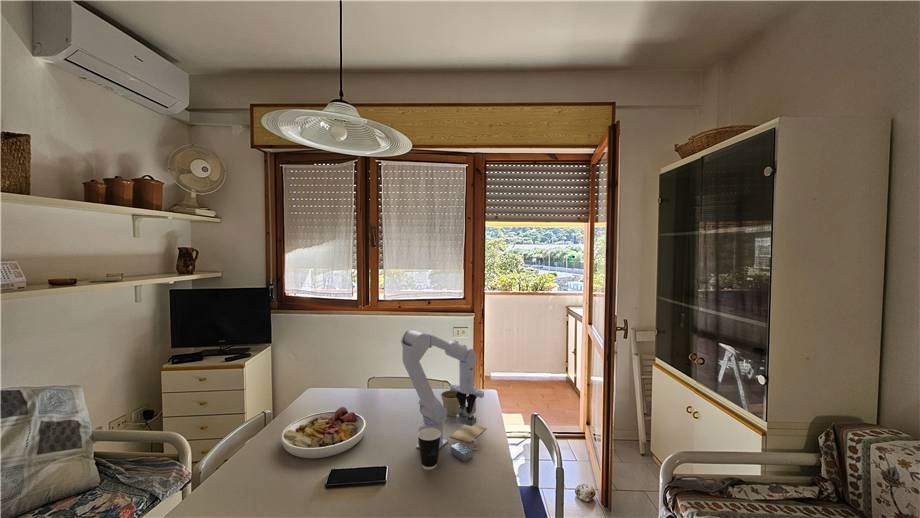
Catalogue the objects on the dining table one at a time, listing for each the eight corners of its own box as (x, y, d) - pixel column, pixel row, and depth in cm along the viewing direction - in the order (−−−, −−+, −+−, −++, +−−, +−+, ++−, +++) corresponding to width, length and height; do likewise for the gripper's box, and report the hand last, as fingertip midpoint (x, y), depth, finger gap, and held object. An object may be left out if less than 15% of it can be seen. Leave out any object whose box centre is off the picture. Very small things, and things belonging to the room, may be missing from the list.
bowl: (340, 468, 127) (340, 444, 127) (262, 457, 133) (262, 435, 133) (378, 426, 156) (378, 407, 156) (312, 419, 163) (312, 401, 162)
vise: (470, 444, 142) (470, 434, 141) (483, 452, 136) (483, 442, 136) (450, 452, 136) (450, 443, 136) (463, 461, 130) (463, 451, 130)
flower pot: (453, 420, 161) (453, 400, 160) (436, 414, 166) (436, 395, 166) (466, 412, 168) (466, 393, 168) (449, 407, 174) (449, 388, 174)
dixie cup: (424, 456, 133) (424, 425, 133) (445, 462, 130) (445, 430, 130) (413, 469, 126) (413, 436, 125) (434, 474, 123) (434, 441, 122)
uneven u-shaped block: (470, 410, 157) (470, 398, 157) (485, 414, 153) (485, 402, 153) (456, 422, 147) (456, 409, 147) (471, 426, 144) (471, 413, 144)
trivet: (470, 443, 142) (470, 442, 142) (449, 437, 147) (449, 436, 147) (486, 429, 153) (486, 428, 153) (466, 423, 158) (466, 422, 158)
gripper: (487, 378, 151) (487, 411, 151) (456, 371, 158) (456, 404, 159) (479, 383, 145) (479, 418, 145) (447, 376, 152) (447, 410, 153)
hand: (466, 411), depth 152 cm, fingers closed on uneven u-shaped block, 2 cm apart
